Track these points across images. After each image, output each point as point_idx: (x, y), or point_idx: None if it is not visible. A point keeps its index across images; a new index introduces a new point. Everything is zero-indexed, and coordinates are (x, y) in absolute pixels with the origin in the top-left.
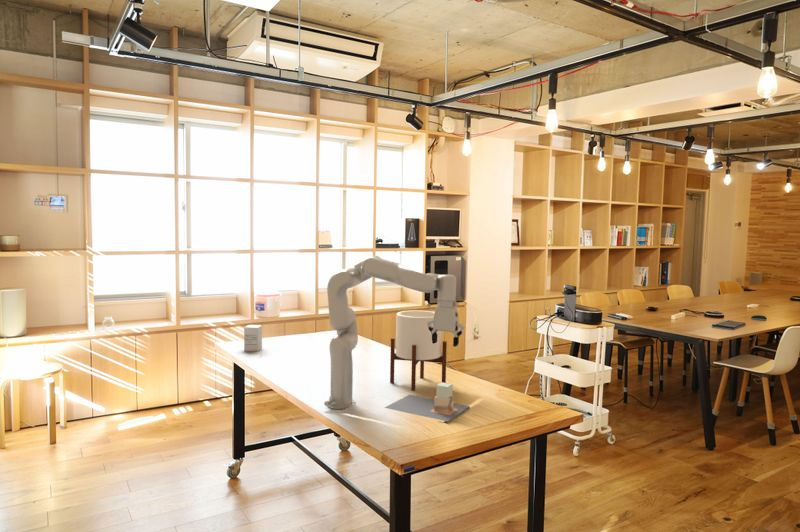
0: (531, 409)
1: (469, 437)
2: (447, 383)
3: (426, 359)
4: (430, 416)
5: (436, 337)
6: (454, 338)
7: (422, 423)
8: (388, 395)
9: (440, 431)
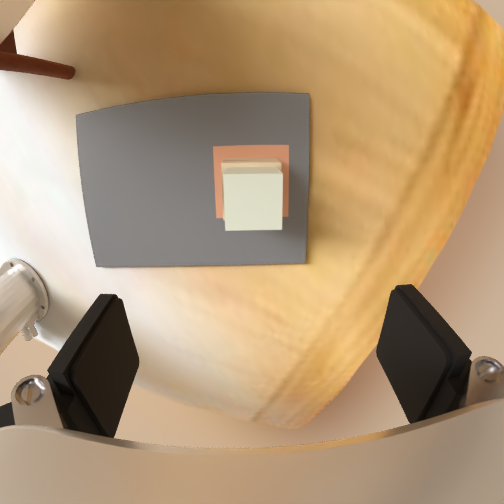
0: (450, 35)
1: (378, 306)
2: (256, 176)
3: (30, 4)
4: (242, 257)
5: (103, 355)
6: (420, 418)
7: (242, 295)
8: (34, 152)
9: (308, 314)
